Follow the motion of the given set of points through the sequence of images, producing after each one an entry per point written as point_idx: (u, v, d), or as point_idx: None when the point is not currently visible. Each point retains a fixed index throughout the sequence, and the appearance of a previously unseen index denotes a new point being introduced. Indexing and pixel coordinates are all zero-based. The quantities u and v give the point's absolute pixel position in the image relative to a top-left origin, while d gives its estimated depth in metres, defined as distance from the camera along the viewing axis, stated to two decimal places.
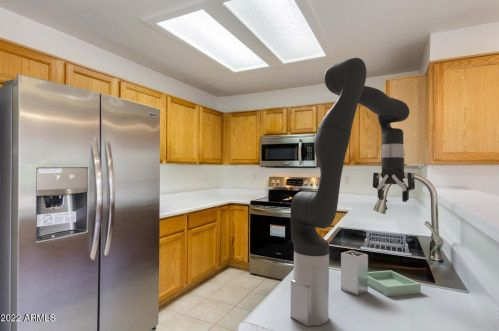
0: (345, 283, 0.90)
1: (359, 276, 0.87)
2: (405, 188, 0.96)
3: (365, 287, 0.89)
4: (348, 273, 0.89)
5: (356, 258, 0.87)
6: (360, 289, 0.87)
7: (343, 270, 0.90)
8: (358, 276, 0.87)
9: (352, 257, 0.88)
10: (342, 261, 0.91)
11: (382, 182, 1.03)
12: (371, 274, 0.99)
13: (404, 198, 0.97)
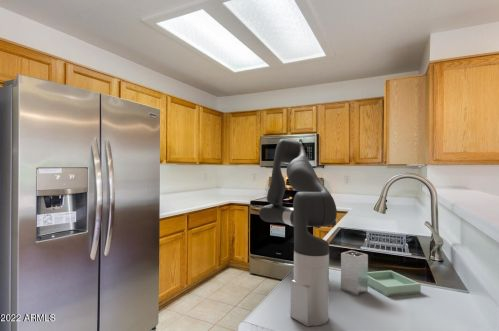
0: (345, 283, 0.90)
1: (359, 276, 0.87)
2: None
3: (365, 287, 0.89)
4: (348, 273, 0.89)
5: (356, 258, 0.87)
6: (360, 289, 0.87)
7: (343, 270, 0.90)
8: (358, 276, 0.87)
9: (352, 257, 0.88)
10: (342, 261, 0.91)
11: None
12: (371, 274, 0.99)
13: None
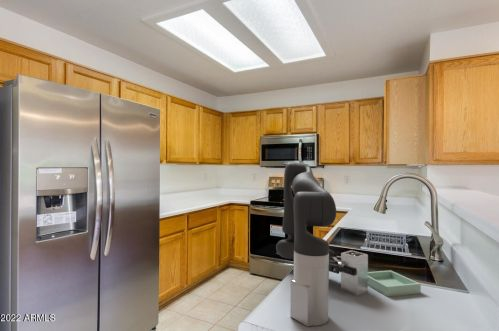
0: (345, 283, 0.90)
1: (359, 276, 0.87)
2: None
3: (365, 287, 0.89)
4: None
5: (356, 258, 0.87)
6: (360, 289, 0.87)
7: None
8: (358, 276, 0.87)
9: (352, 257, 0.88)
10: (342, 261, 0.91)
11: (338, 260, 0.93)
12: (371, 274, 0.99)
13: None
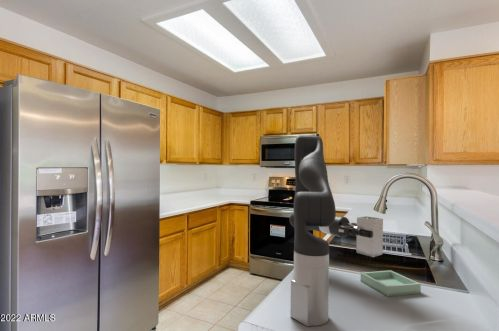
0: (361, 246, 0.92)
1: (375, 238, 0.90)
2: None
3: (380, 250, 0.92)
4: None
5: (372, 221, 0.89)
6: (376, 251, 0.90)
7: None
8: (374, 238, 0.89)
9: (368, 220, 0.91)
10: (358, 225, 0.93)
11: (353, 225, 0.95)
12: (371, 274, 0.99)
13: None
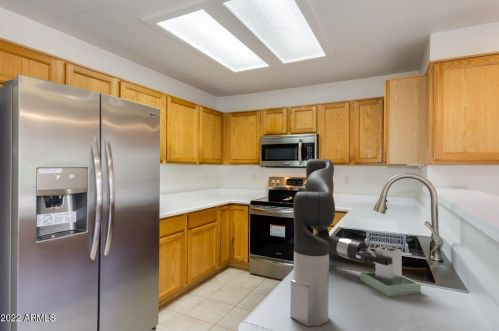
0: (380, 277, 0.93)
1: (394, 270, 0.91)
2: None
3: (400, 281, 0.93)
4: (383, 267, 0.93)
5: (391, 253, 0.91)
6: (395, 283, 0.91)
7: (378, 265, 0.94)
8: (393, 270, 0.90)
9: (387, 252, 0.92)
10: None
11: (371, 251, 0.96)
12: (371, 274, 0.99)
13: None
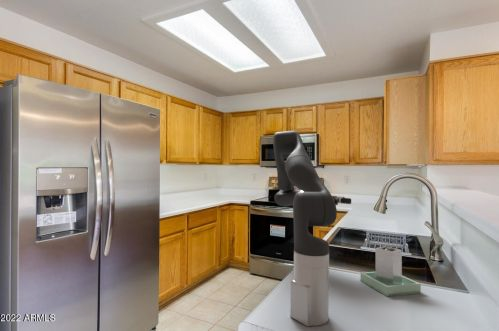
0: (380, 277, 0.93)
1: (394, 270, 0.91)
2: None
3: (400, 281, 0.93)
4: (383, 267, 0.93)
5: (391, 253, 0.91)
6: (395, 283, 0.91)
7: (378, 265, 0.94)
8: (393, 270, 0.90)
9: (387, 252, 0.92)
10: (377, 256, 0.95)
11: None
12: (371, 274, 0.99)
13: None
